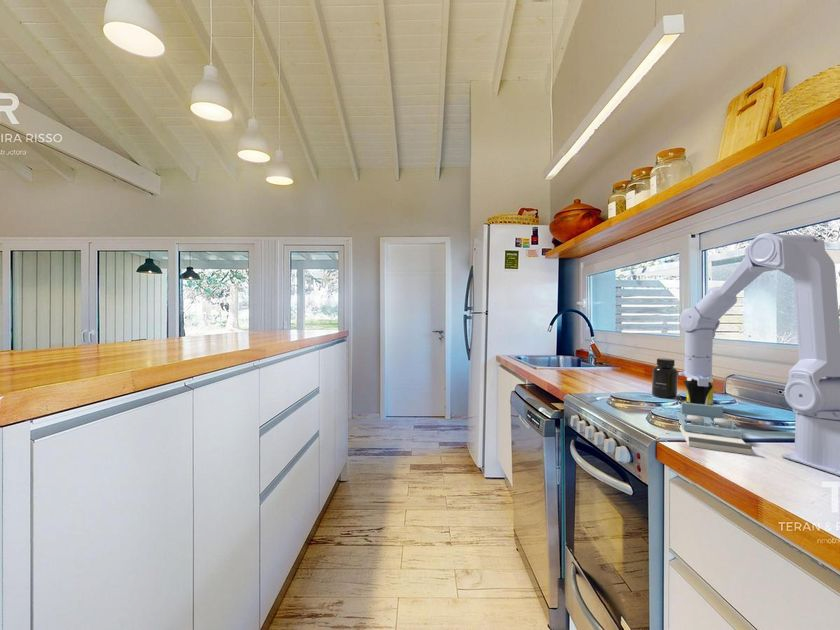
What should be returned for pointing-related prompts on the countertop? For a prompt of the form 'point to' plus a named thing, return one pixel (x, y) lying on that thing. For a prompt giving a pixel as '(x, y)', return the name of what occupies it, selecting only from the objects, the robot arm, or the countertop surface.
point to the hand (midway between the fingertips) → (697, 410)
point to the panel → (705, 419)
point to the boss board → (715, 437)
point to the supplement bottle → (665, 379)
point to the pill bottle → (709, 397)
